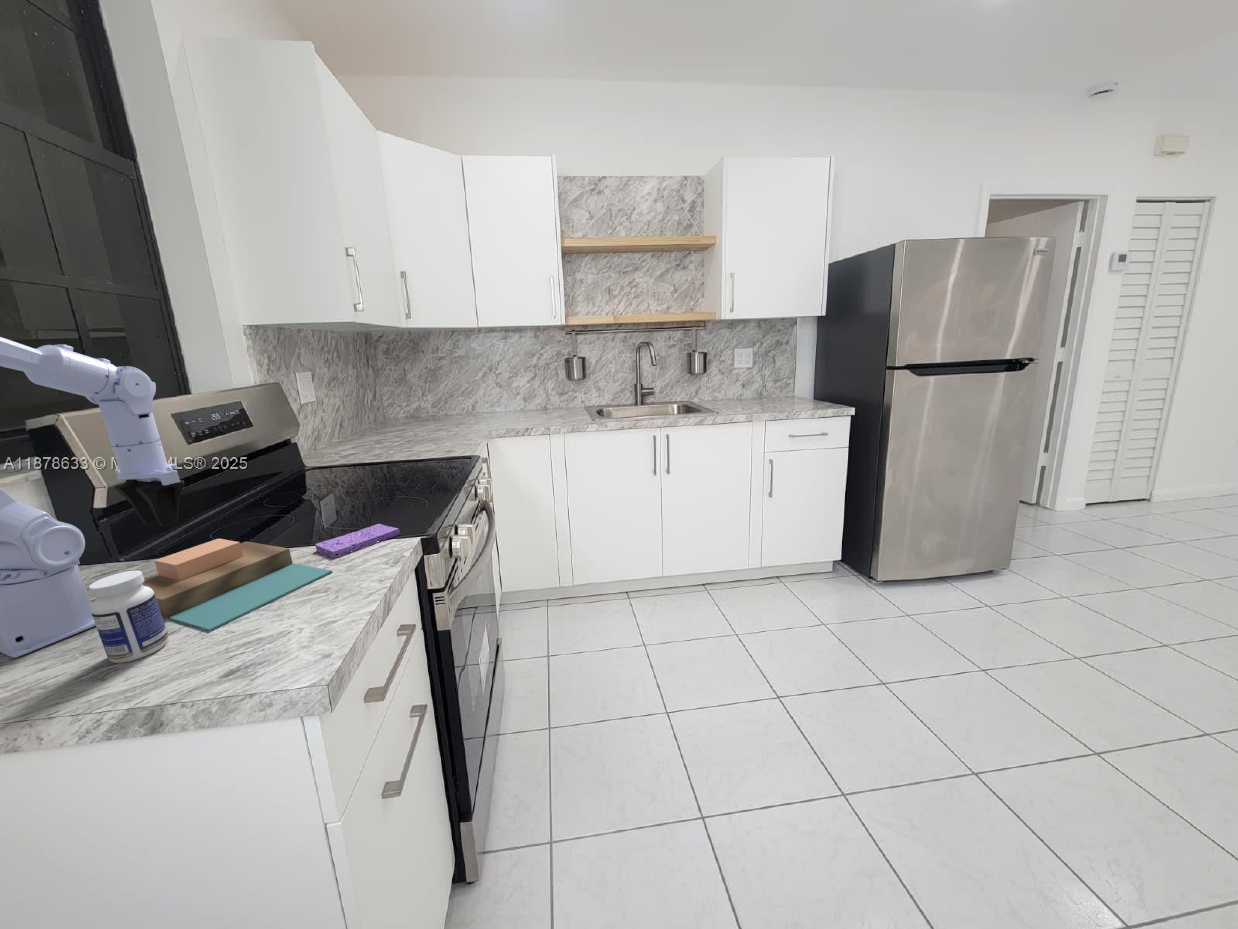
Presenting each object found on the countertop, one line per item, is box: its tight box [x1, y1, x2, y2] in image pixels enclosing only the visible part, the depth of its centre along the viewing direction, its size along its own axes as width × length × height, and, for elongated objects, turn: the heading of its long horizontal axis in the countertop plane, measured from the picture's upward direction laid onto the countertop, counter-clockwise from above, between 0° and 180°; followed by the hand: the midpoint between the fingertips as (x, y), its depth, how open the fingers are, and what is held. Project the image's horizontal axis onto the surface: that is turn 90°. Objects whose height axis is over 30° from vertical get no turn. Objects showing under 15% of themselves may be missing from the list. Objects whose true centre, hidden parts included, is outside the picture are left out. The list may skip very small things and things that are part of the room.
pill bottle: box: [88, 570, 170, 664], centre depth 62 cm, size 6×6×10 cm
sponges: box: [314, 523, 400, 559], centre depth 95 cm, size 7×13×2 cm, turn 144°
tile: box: [153, 538, 243, 580], centre depth 81 cm, size 9×6×2 cm, turn 156°
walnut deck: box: [143, 541, 293, 620], centre depth 81 cm, size 18×12×3 cm, turn 156°
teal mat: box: [168, 562, 333, 632], centre depth 76 cm, size 18×10×1 cm, turn 156°
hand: (161, 523), depth 83 cm, fingers open, 5 cm apart
